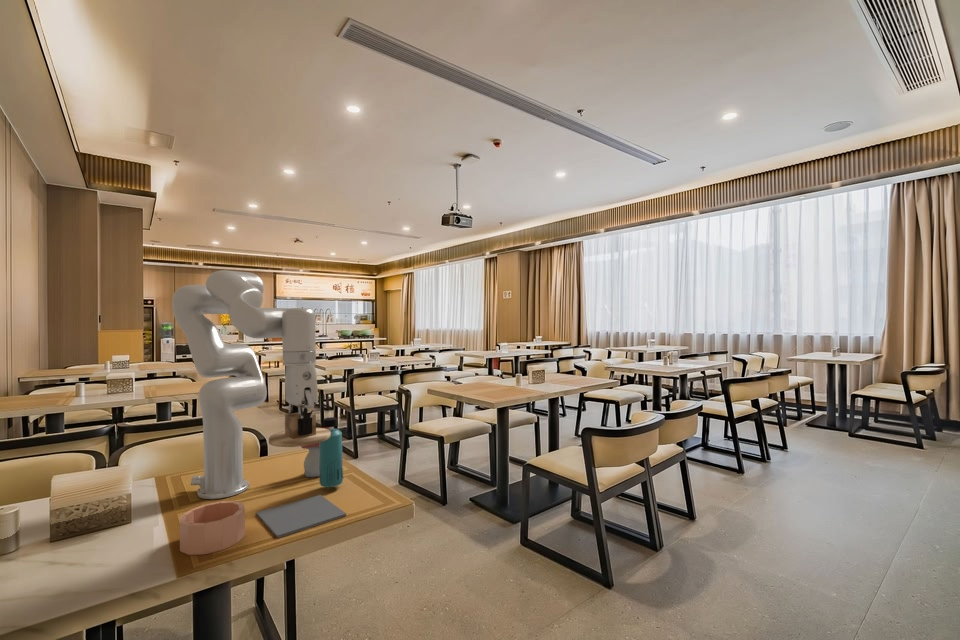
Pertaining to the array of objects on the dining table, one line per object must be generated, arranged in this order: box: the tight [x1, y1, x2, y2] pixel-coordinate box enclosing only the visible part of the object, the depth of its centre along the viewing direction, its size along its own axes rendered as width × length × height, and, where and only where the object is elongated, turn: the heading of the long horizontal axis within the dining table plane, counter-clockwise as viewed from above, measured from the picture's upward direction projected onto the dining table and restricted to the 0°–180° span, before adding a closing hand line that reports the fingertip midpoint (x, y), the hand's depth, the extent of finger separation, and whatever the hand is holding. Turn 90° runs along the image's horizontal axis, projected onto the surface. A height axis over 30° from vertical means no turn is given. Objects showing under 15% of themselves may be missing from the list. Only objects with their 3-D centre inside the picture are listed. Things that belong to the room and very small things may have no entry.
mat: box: [256, 494, 347, 539], centre depth 108 cm, size 16×16×1 cm
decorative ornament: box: [300, 426, 331, 478], centre depth 136 cm, size 9×7×15 cm
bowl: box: [179, 500, 246, 556], centre depth 96 cm, size 12×12×6 cm
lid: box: [268, 412, 331, 448], centre depth 108 cm, size 14×14×6 cm
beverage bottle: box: [318, 417, 344, 488], centre depth 125 cm, size 6×7×20 cm
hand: (300, 431), depth 108 cm, fingers closed on lid, 5 cm apart
